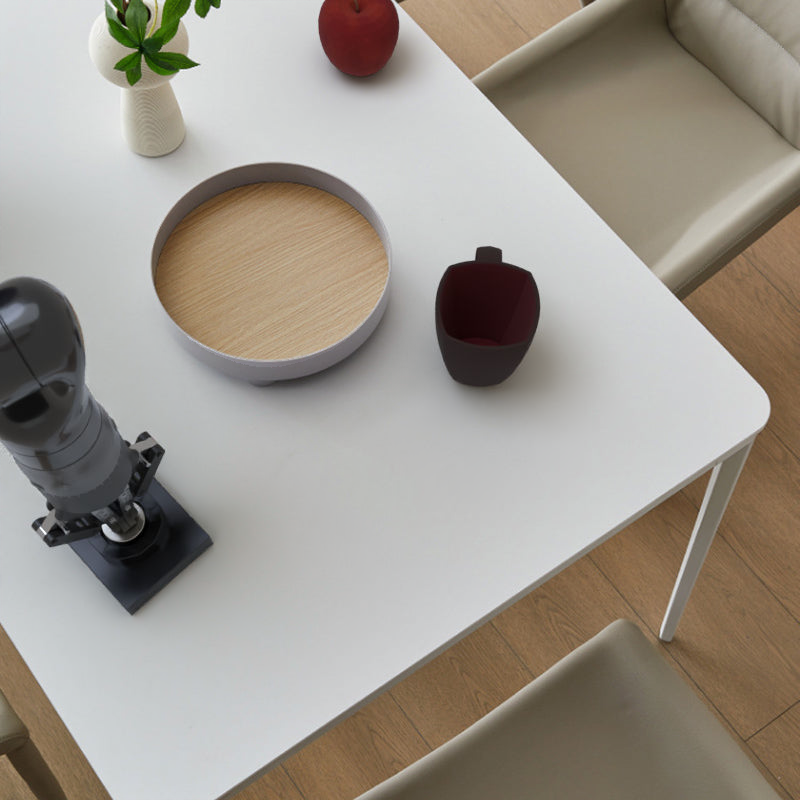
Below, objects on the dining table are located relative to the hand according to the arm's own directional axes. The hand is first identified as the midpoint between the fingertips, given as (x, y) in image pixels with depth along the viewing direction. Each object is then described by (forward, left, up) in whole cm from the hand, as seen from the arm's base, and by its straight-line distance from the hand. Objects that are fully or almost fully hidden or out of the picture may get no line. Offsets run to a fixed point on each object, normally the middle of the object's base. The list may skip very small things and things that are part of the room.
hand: (123, 521), depth 94 cm
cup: (+9, +39, -5) cm, 40 cm away
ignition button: (0, 0, -2) cm, 2 cm away
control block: (0, 0, -4) cm, 5 cm away
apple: (-28, +57, -5) cm, 64 cm away
